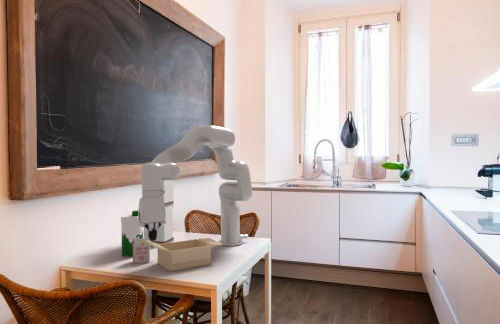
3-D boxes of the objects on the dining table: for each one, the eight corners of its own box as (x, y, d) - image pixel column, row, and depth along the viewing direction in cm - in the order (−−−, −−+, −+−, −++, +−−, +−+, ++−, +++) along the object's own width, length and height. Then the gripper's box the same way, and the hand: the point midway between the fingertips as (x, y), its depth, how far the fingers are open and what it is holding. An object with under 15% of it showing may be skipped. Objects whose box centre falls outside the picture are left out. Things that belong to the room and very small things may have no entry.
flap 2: (198, 239, 171) (209, 239, 174) (211, 245, 160) (222, 245, 163) (198, 238, 171) (209, 238, 174) (211, 244, 160) (223, 243, 163)
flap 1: (157, 243, 161) (145, 239, 158) (168, 250, 150) (155, 246, 147) (156, 245, 161) (144, 241, 158) (167, 251, 150) (154, 247, 147)
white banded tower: (173, 240, 203) (173, 174, 202) (164, 245, 193) (163, 175, 192) (154, 239, 206) (153, 174, 205) (143, 244, 196) (143, 175, 195)
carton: (196, 256, 172) (196, 238, 172) (211, 264, 159) (211, 245, 159) (157, 262, 162) (156, 244, 162) (170, 272, 150) (169, 251, 149)
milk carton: (138, 257, 171) (137, 212, 171) (118, 256, 172) (118, 212, 172) (145, 252, 180) (145, 209, 180) (127, 251, 181) (126, 209, 181)
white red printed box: (133, 261, 165) (133, 238, 165) (150, 260, 167) (149, 237, 167) (132, 263, 162) (132, 239, 162) (149, 262, 163) (149, 239, 163)
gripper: (166, 192, 160) (167, 235, 161) (130, 194, 152) (131, 240, 153) (173, 193, 154) (174, 239, 154) (135, 196, 146) (136, 244, 146)
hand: (152, 239), depth 154 cm, fingers closed
